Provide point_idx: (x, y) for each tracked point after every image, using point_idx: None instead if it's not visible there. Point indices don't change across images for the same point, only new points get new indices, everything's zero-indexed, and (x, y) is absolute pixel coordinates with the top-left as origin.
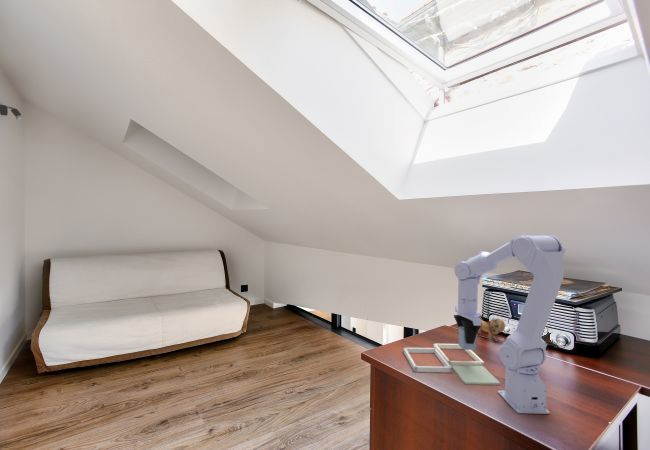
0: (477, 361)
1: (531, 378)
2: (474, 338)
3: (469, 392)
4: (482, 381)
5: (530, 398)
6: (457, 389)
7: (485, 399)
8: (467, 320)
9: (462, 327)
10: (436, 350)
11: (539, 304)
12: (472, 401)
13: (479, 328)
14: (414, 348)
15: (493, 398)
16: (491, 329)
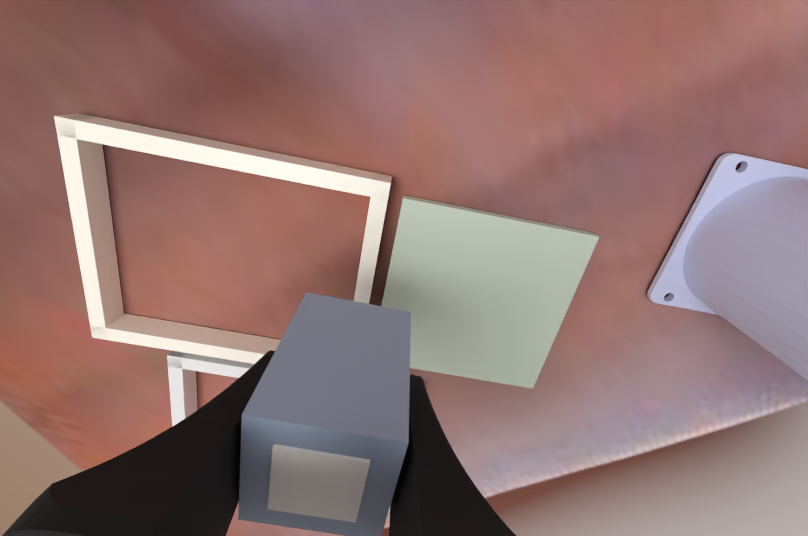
0: (371, 222)
1: None
2: (431, 413)
3: (589, 400)
4: (555, 316)
5: None
6: (553, 427)
7: (657, 374)
8: (191, 526)
9: (278, 508)
10: (203, 367)
11: None
12: (644, 422)
13: (503, 522)
14: None
15: (667, 341)
16: None
